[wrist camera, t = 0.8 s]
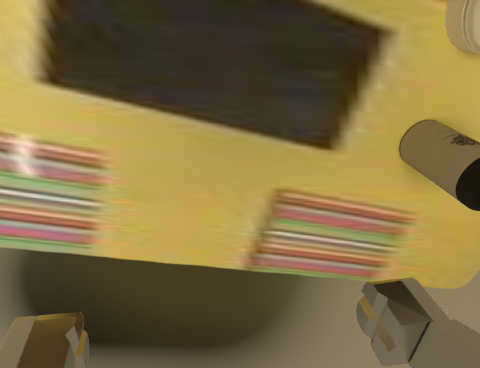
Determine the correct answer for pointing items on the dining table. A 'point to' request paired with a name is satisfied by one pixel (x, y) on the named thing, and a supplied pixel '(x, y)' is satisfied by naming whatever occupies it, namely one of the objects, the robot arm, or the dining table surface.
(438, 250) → the dining table surface
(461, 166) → the travel mug
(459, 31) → the honey pot
